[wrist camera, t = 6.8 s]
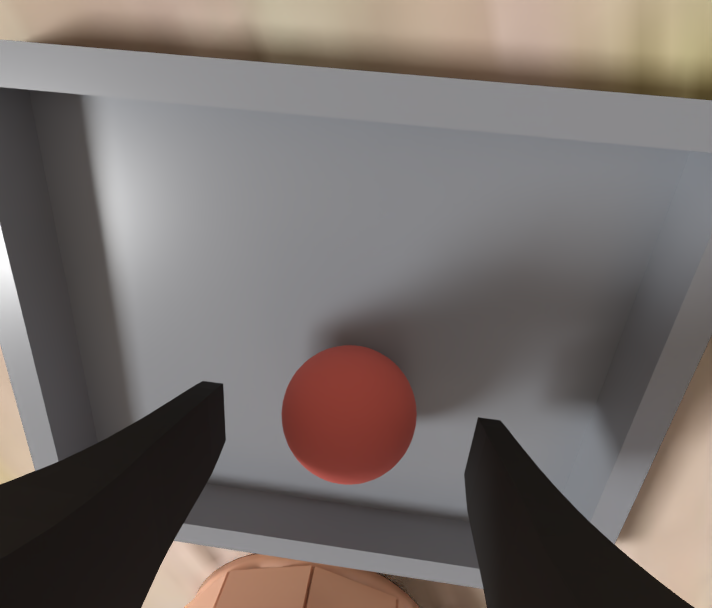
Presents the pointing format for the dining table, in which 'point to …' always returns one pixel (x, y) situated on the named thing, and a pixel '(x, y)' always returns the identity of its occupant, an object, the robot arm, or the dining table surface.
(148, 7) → the dining table surface
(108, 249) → the tray
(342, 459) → the ball
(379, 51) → the dining table surface
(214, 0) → the dining table surface
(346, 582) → the pink bowl
